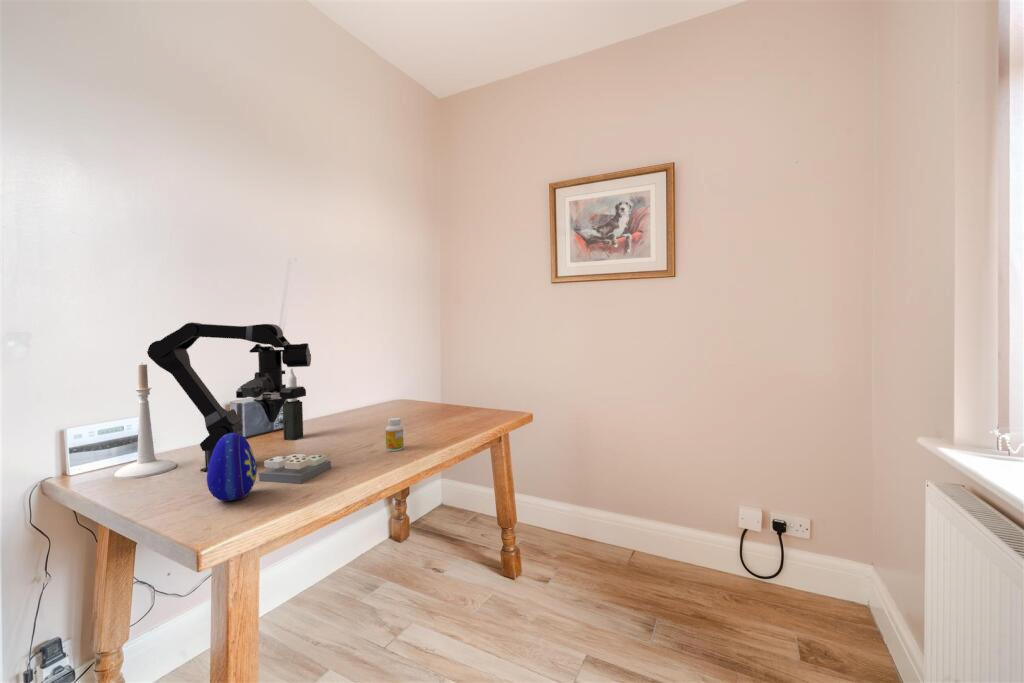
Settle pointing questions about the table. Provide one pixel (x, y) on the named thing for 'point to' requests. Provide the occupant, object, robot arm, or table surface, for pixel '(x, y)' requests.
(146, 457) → the candlestick
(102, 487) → the table surface
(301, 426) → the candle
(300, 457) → the key one dot
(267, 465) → the key two dot
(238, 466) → the ornament
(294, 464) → the key four dot
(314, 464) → the key three dot
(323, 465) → the keypad board
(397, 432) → the supplement bottle
